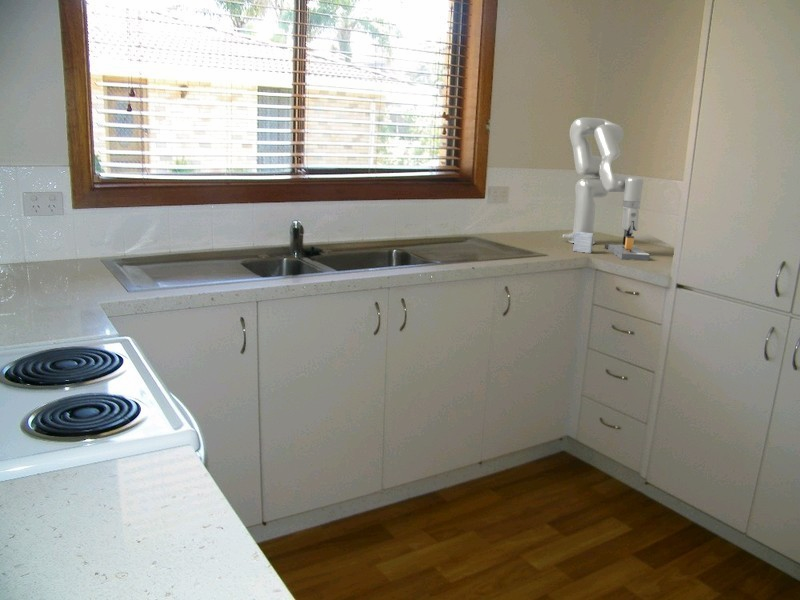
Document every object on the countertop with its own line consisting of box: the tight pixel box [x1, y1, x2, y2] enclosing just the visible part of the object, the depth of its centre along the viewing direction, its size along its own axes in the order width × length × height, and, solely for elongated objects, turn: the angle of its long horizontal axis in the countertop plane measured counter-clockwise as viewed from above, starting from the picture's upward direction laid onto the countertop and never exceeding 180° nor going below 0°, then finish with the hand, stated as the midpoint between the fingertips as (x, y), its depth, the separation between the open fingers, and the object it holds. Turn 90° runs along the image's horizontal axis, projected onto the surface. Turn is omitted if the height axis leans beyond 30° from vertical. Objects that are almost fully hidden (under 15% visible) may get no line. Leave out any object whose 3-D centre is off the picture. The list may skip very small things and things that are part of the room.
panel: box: [607, 244, 651, 261], centre depth 318 cm, size 12×24×3 cm, turn 178°
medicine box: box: [572, 232, 595, 254], centre depth 319 cm, size 8×4×9 cm, turn 65°
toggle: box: [625, 235, 635, 252], centre depth 317 cm, size 3×2×8 cm
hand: (626, 245), depth 321 cm, fingers closed
